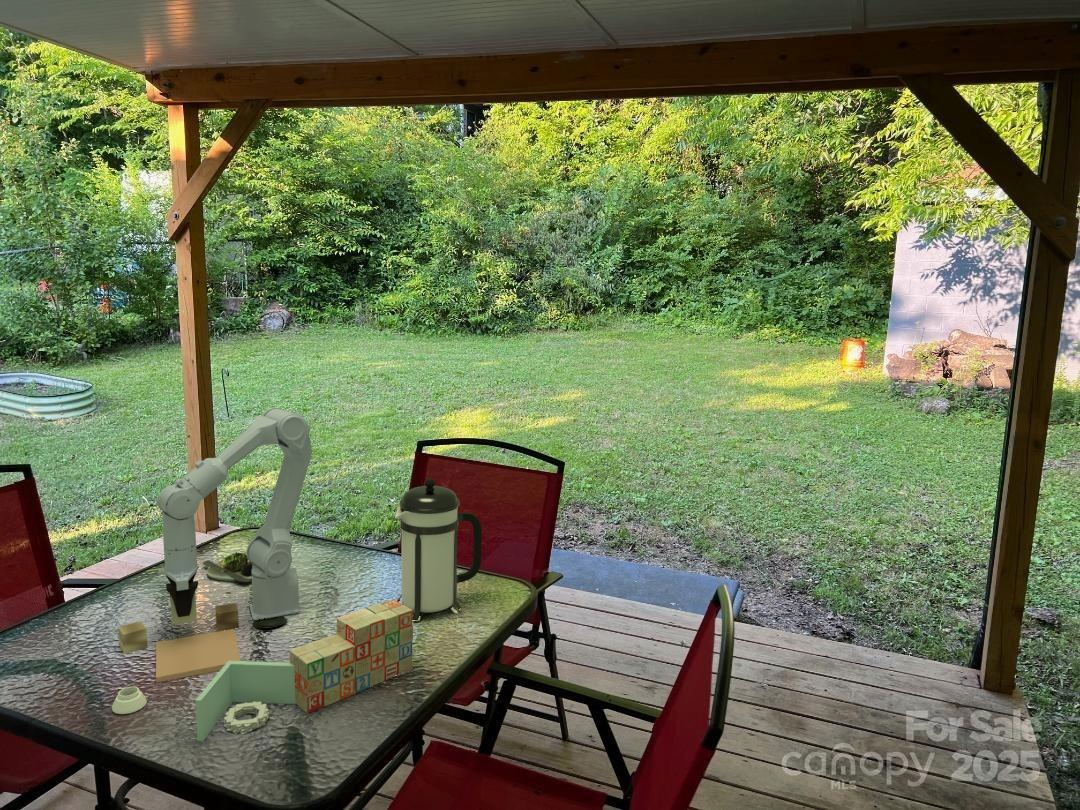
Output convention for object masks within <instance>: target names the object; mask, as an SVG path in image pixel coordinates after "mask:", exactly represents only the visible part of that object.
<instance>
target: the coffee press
mask: <svg viewBox="0 0 1080 810" xmlns="http://www.w3.org/2000/svg"><path fill="white" fill-rule="evenodd" d="M459 507H460V499H459V498H457V494H456V493H455V492H454V491H453V490H451V489H450V488H448V487H444V486H439V485H436V481H435V479H434V478H432V477H427V478H426V479H425V481H424V485H422V486H417V487H413V488H411V489H409V490H407V491H406V492H405V493H404V494H403V496H402V498H401V499H400V500H399V506H398V508H397V510H396V513H395V516H394V518H395V519H400V528H401V594H400V596H399V597H398V599H397V600H396V601H397V602H399V601H401V602H402V603H403V605H405V606H406V607H408V608H410V609H412V610H413V619H412V620H418V618H419V616H423V614H424V613H436V612H441V611H443V610H447V609H449V610H451V608H452V607H454V606H453V604H454V605H455V607H456V608H457V611H459V609H460V608H461V609H462V606H461V605H460V604H459V602H458V599H457V598H458V597H457V590H458V584H461V583H464V582H468V581H469V580H471V579H473V578H474V577H476V576H477V574H478V573H479V570H480V568H481V565H482V548H483V547H482V546H483V545H482V544H483V530H482V524H481V522H480V519H479V518H478V517H477V516H476V515H474V514H472V513H470V512H461V513H458V508H459ZM460 521H461V522H470V524H471V525H472V533H473V535H472V539H473V540H472V542H473V543H472V562H471V566H470V568H469V569H468V570H467V571H466V572H463V573H457V572H458V568H457V567H458V527H459V522H460Z"/></svg>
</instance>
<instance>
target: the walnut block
mask: <svg viewBox="0 0 1080 810" xmlns="http://www.w3.org/2000/svg"><path fill="white" fill-rule="evenodd" d="M215 625H217V626H216V632H219V631H224V630H230V629H234V630H236V629H235V628H240V627H239V610H238V605H237V603H236V602H232V603H227V604H220V605H215Z"/></svg>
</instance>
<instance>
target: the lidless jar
mask: <svg viewBox="0 0 1080 810" xmlns="http://www.w3.org/2000/svg"><path fill="white" fill-rule="evenodd" d="M115 697H116V698H115V699H114V701H113V704H112V706H111V710H112V712H113V713H115V714H119V715H127V714H131V713H135V712H137V711H139V710H141V709H142V708H144V707H145V706H146V704H147V697H146V696H145V694H144V693H143V691H141V690H140V688H139V687H137V686H126V687H125V688H122V689H120V690H119V691H118V693H117V695H116V696H115Z"/></svg>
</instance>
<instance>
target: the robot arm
mask: <svg viewBox="0 0 1080 810" xmlns="http://www.w3.org/2000/svg"><path fill="white" fill-rule="evenodd" d="M310 431H311V426H310V425H309V423H308V422H307V421H306V419H305V417H304V416H302V415H300V414H299V413H294V412H290V411H289V410H285V409H283V408H281V407H271V408H269V409H267V410H265V412H263V414H262V415H259V416H258V417H256V418H255V419H254V420H253V422H252V424H251V425H249V427H248V428H247V429H245V430H244V432H242V433H241V434H240V435H239V436H238V437H237V438H236V439H234V440H233V442H232V443H230V444H228V445H227V446H226V448H225V449H224V450H223V451H222V452H221V453H219V454H218V455H217V456H216V457H212V458H211V457H207V458H205V459H204V460H203V459H198V460H197V461H196V462H195V463H194V465H195V466H194V467H193V469H191V470H190V471H189V472H187V473H186V474H185V475H183V476H182V477H181V478H180V477H179V478H177V479H175V482H174V484H172V485H171V484H169V485H167V486H166V487H164V488H163V489H162V490H161V491H160V493H159V495H158V498H157V499H156V505H157V507H158V508H159V509H160V511H162V513H161V514H162V537H163V538H162V539H163V540H162V541H163V556H164V557H163V558H164V567H159V568H158V575H159V576H162V575H165V577H166V579H167V580H168V581H169V583H166V584H165V589H166V591H167V593H168V594H169V596H170V595H171V597H172V599H173V602H174V605H175V609H176V613H177V615H178V617H184V616H189V615H190V613H191V607H192V600H193V596H194V593H196V591H197V589H198V587H199V580H196V581H195V580H194V579H195V577H196V575H197V573H198V570H199V564H198V555H197V539H196V538H197V537H196V536H197V535H196V522H195V514H196V512H197V510H199V507H200V503H201V501H203V500H204V499H205V498H207V496H209V494H211V493H213V491H214V490H215V489H217V488H218V487H220V485H222V484H223V483H224V482H225V481H226V480H227V479H228V474H229V470H230V469H232V468H234V466H235V465H237V464H238V463H239V462H240V461H242V460H243V459H245V458H246V457H248V455H250V454H251V453H252V452H254V451H255V450H257V449H258V448H259V447H261V446H267V445H278V446H279V448H280V450H281V451H282V453H283V454H284V457H283V460H282V462H281V463H282V464H281V466H280V469H279V474H278V476H277V480H276V483H275V486H274V489H273V493H272V497H271V500H270V503H269V507H268V510H267V513H266V516H265V519H264V523H263V525H262V526H261V527H259V528H258V529H257V530H256V532H255V535H254V537H253V539H252V540H251V541H250V542H249V544H248V545H247V548H246V551H245V552H246V555H247V558H248V560H249V561H250V562H251V563H252V583H251V593H252V595H251V596H252V597H251V598H252V603H249V604H248V608H249V610H250V615H251V618H252V620H253V621H258V620H259V619H260V620H265V619H271V618H275V617H277V618H278V617H282V616H289V615H295V614H299V613H300V591H299V588H300V587H299V586H300V585H299V576H298V572H297V568H296V567H291V564H292V561H293V557H292V547H293V540H292V537H291V533H290V530H291V526H292V524H293V519H294V516H295V513H296V510H297V506H298V504H299V499H300V495H301V492H302V490H303V486H304V483H305V479H306V476H307V473H308V470H309V469H308V468H309V466H310V462H311V458H312V455H313V448H312V447H313V446H312V442H311V437H310ZM249 561H248V562H249ZM264 618H265V619H264Z"/></svg>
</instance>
